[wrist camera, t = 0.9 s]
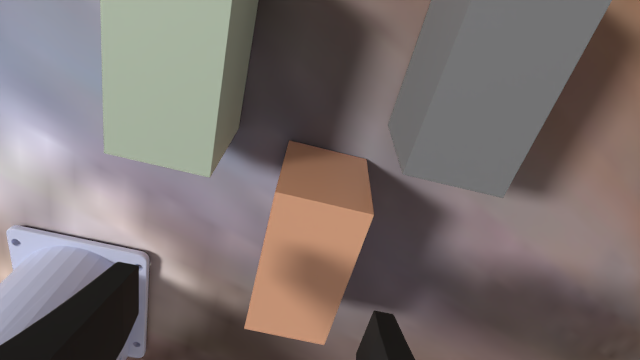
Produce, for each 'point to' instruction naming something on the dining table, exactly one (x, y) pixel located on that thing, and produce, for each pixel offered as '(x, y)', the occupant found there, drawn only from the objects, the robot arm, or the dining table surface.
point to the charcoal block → (486, 86)
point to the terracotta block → (310, 243)
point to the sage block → (174, 79)
